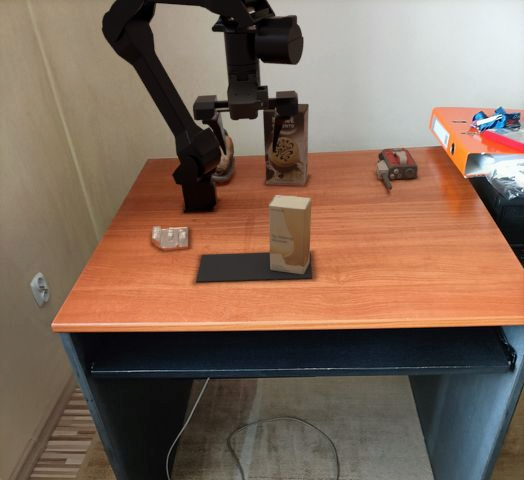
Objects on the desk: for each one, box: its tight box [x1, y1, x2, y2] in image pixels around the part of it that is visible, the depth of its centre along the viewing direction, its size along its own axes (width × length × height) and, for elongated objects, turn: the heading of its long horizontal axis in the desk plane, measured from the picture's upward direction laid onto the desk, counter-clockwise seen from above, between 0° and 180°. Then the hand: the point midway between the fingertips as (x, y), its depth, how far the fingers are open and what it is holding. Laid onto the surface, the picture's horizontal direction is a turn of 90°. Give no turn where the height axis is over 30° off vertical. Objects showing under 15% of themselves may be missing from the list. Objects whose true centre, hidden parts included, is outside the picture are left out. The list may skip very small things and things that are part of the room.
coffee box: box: [262, 103, 310, 187], centre depth 115 cm, size 9×6×16 cm
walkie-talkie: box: [375, 147, 419, 191], centre depth 117 cm, size 9×4×20 cm
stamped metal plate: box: [151, 225, 190, 252], centre depth 101 cm, size 8×7×2 cm
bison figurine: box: [212, 127, 236, 183], centre depth 121 cm, size 12×7×10 cm, turn 176°
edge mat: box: [195, 251, 313, 284], centre depth 92 cm, size 20×9×1 cm, turn 88°
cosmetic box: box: [268, 194, 313, 274], centre depth 87 cm, size 6×4×12 cm
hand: (249, 153), depth 99 cm, fingers open, 9 cm apart
